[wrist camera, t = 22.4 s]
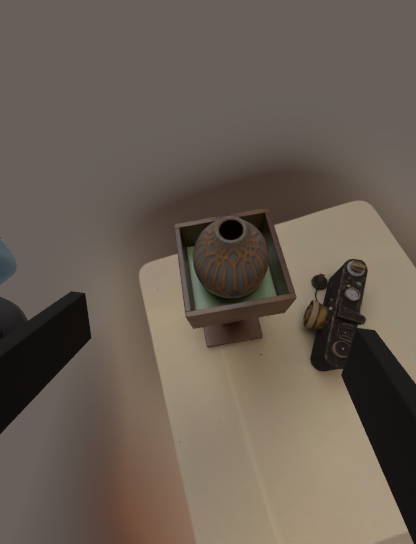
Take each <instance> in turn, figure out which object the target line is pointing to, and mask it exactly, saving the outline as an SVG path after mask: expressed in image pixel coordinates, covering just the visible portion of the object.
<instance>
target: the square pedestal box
mask: <svg viewBox="0 0 416 544" xmlns="http://www.w3.org/2000/svg"><path fill="white" fill-rule="evenodd" d="M227 216H236V217H239V218H241V219H242V220H245V221H247V222H249V223H251V224H252V225H254V226H255V227H256V228H257V229H258V230H259V231H260V232H261V234H262V235H263V237H264V239H265V241H266V243H267V247H268V251H269V265H268V269H267V272H266V275H265V277H264V279H263V280H262V282H261V283H260V285H259V286H258V287H257V288H256V289H255V290H254V291H252V292H251V293H249V294H247V295H245V296H243V297H239V298H231V299H230V298H222V297H219V296H216V295H214V294H212V293H211V292H209V291H208V290H207V289H206V288H204V286H203V285H202V284H201V283H200V281H199V280H198V278H197V276H196V273H195V270H194V266H193V251H194V247H195V244H196V241H197V239H198V237H199V235H200V234H201V233H202V231H203V230H204V229H205V228H206V227H207V226H209V225H210V224H212V223H213V222H215V221H218V220H220V219H222V218H224V217H227ZM174 228H175V237H176V244H177V251H178V260H179V268H180V276H181V283H182V291H183V299H184V307H185V315H186V318H187V320H188V321H189V323H190V324H191V326H192V327H193V329H195V328H201V327H204V331H205V338H206V344H207V347H213V346H219V345H225V344H230V343H236V342H242V341H247V340H253V339H259V338H262V337H263V336H262V332H261V328H260V324H259V320H258V317H263V316H269V315H275V314H280V313H285V312H286V310H287V309H288V308H289V307H290V305H291V304H292V303H293V302H294V300H295V299H296V294H295V291H294V288H293V285H292V282H291V278H290V275H289V272H288V269H287V266H286V262H285V259H284V256H283V253H282V250H281V247H280V243H279V240H278V237H277V234H276V231H275V227H274V224H273V221H272V218H271V215H270V212H269V208H265V209H258V210H253V211H247V212H242V213H236V214H230V215H225V216H219V217H213V218H208V219H202V220H197V221H191V222H185V223H179V224H174Z"/></svg>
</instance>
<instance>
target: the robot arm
mask: <svg viewBox="0 0 416 544" xmlns="http://www.w3.org/2000/svg"><path fill="white" fill-rule="evenodd" d="M15 271H16V261H15V258H14V256H13V255H12V253H11V251H10V250H9V248H8V247H7V246H6V244H5V243H4V242H3V241H2V239H1V238H0V285H1V284H2V283H3V282H5V281H6V280H7V279H8V278H10V277H11V276H12V275H13V274H14V273H15ZM90 339H91V333H90V325H89V318H88V311H87V304H86V297H85V293H80V292H72V291H71V292H70V293H68V294H67V295H65V296H64V297H62V298H61V299H60V300H58V301H57V302H55V303H53V304H52V305H51V306H49V307H48V308H46V309H45V310H43V311H42V312H40V313H39V314H37V315H36V316H34V317H33V318H32V319H30V320H29V321H27V322H26V323H24V324H23V325H21V326H20V327H18V328H17V329H15V330H14V331H12V332H11V333H9V334H8V335H7V336H5V337H4V338H3V334H2V331H1V329H0V434H1V433H2V432H3V431H4V429H5V428H6V427H7V426H8V425H9V424H10V423H11V422H12V421H13V420H14V419H15V418H16V417H17V416H18V414H20V413H21V412H22V410H23V409H24V408H25V407H26V406H27V405H28V404H29V403H30V402H31V401H32V400H33V399H34V398H35V397H36V396H37V395H38V394H39V393H40V391H41V390H42V389H43V388H44V387H45V386H46V385H47V384H48V383H49V382H50V381H51V380H52V379H53V378H54V377H55V376H56V375H57V373H58V372H59V371H60V370H61V369H62V368H63V367H64V366H65V365H66V364H67V363H68V362H69V361H70V360H71V359H72V358H73V357H74V356H75V354H76V353H77V352H78V351H79V350H80V349H81V348H82V347H83V346H84V345H85V344H86V343H87V342H88V341H89V340H90ZM341 376H342V378H343V381H344V383H345V385H346V388H347V390H348V392H349V394H350V397H351V399H352V401H353V404H354V406H355V408H356V411H357V413H358V415H359V418H360V420H361V422H362V425H363V427H364V429H365V432H366V434H367V436H368V438H369V441H370V443H371V445H372V448H373V450H374V452H375V455H376V457H377V459H378V462H379V464H380V466H381V469H382V471H383V473H384V475H385V478H386V480H387V482H388V485H389V487H390V489H391V492H392V494H393V496H394V499H395V501H396V503H397V506H398V508H399V510H400V512H401V515H402V517H403V519H404V522H405V524H406V526H407V529H408V531H409V533H410V536H411V538H412V540H413V542H414V544H416V384H415V383H414V381H413V380H412V379H411V377H410V376H409V375H408V373H407V372H406V371H405V369H404V368H403V367H402V366H401V364H400V363H399V362H398V360H397V359H396V358H395V356H394V355H393V354H392V352H391V351H390V350H389V348H388V347H387V346H386V344H385V343H384V342H383V340H382V339H381V338H380V337H379V335H378V334H377V333H376V331H375V330H369V329H361V328H356V331H355V334H354V337H353V340H352V344H351V347H350V350H349V353H348V356H347V359H346V362H345V365H344V368H343V372H342V375H341Z"/></svg>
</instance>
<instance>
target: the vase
mask: <svg viewBox="0 0 416 544" xmlns="http://www.w3.org/2000/svg"><path fill="white" fill-rule="evenodd" d="M268 265H269V251H268V247H267V243H266V241H265V239H264V237H263V235H262V234H261V232H260V231H259V230H258V229H257V228H256V227H255V226H254V225H252V224H251V223H249V222H247V221H245V220H242V219H241V218H239V217H236V216H227V217H224V218H222V219H220V220H218V221H215V222H213V223H212V224H210V225H209V226H207V227H206V228H205V229H204V230H203V231H202V233H201V234H200V235H199V237H198V239H197V241H196V244H195V247H194V251H193V266H194V270H195V273H196V276H197V278H198V280H199V281H200V283H201V284H202V285H203V286H204V288H206V289H207V290H208V291H209V292H211V293H212V294H214V295H216V296H219V297H222V298H230V299H231V298H239V297H243V296H245V295H247V294H249V293H251V292H252V291H254V290H255V289H256V288H257V287H258V286H259V285H260V283H261V282H262V280H263V279H264V277H265V275H266V272H267V269H268Z"/></svg>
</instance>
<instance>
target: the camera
mask: <svg viewBox="0 0 416 544" xmlns="http://www.w3.org/2000/svg"><path fill="white" fill-rule="evenodd" d="M367 271H368V270H367V266H366V264H365V263H364V262H363V261H362V260H357V259H350V260H347V261H346V262H345V263H344V265H343V266H342V267H341V268H340V269H339V270H338V271H337V272H336V273H335V274H334V275H333V276H332V277H331V278H330V279H329V282H328V286H327V279H326V278H325V277H324V276H325V275H323V274H320V275H316V276H314V277H313V279H312V285H313V286H314V287H315V288H316V293H317V289H324V288H325V287H326V286H327V290H326V294H325V299H324V303H323V305H321V304H320V303H319V302H318V301H317V298H316V301H315V300H312V301H311V303H310V304H309V306H308V307H307V309H306V312H305V315H304V324H303V325H304V327H305V328H307V329H311V328H314V329H317V332H316V336H315V340H314V345H313V349H312V353H311V358H310V360H311V363H312V365H313V366H314V367H315V368H316V369H317V370H319V371H329V370H335V369H343V368H344V365H345V362H346V359H347V356H348V353H349V350H350V347H351V344H352V340H353V337H354V334H355V331H356V328H357V326H358V324H359V325H361V324H364V323H365V321H366V318H365V317H364V316H363V315H361V314H360V310H361V304H362V299H363V293H364V288H365V282H366V277H367ZM315 297H316V294H315Z"/></svg>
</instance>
